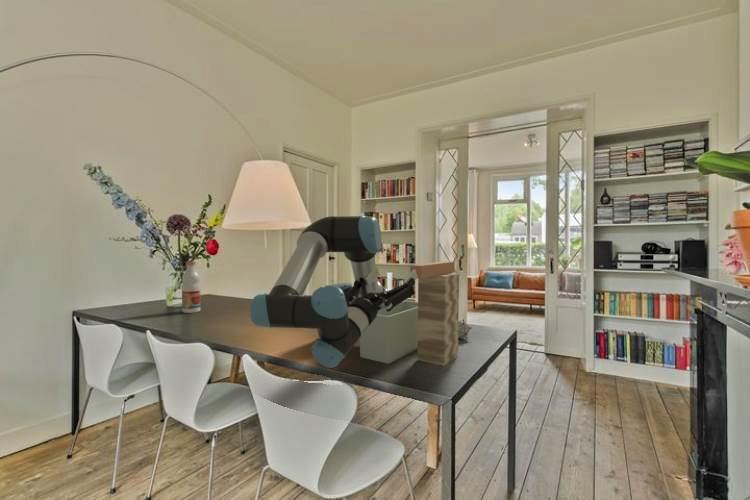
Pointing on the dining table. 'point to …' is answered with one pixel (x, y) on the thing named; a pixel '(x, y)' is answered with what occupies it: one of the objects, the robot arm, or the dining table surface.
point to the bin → (391, 333)
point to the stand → (438, 318)
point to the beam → (433, 269)
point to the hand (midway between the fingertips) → (396, 272)
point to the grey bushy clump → (463, 329)
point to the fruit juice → (191, 289)
